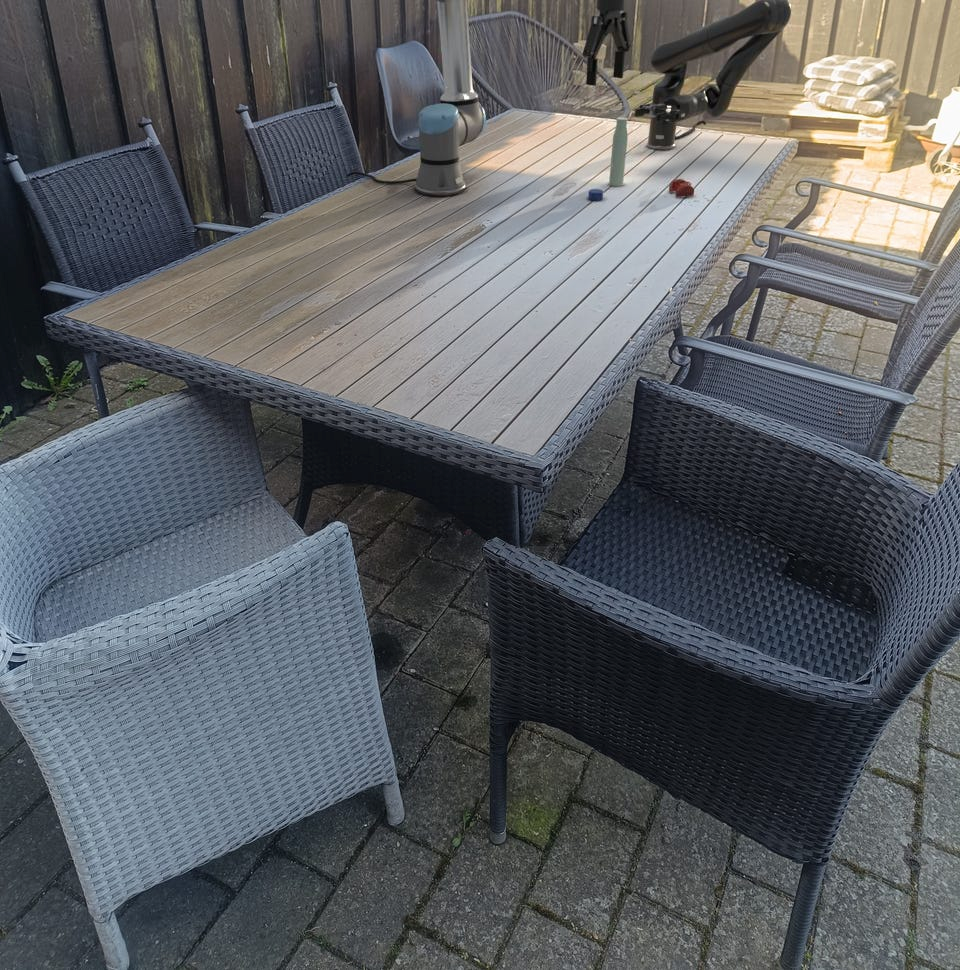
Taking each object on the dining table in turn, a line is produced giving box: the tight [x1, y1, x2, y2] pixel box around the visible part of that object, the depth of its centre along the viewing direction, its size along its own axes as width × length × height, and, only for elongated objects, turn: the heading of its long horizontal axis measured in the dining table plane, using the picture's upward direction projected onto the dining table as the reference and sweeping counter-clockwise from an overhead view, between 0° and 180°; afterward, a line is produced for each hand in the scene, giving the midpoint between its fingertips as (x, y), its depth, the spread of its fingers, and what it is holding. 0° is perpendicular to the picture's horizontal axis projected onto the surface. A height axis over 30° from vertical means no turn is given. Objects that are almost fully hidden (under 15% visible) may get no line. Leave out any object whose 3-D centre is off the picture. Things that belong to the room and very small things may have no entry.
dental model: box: [668, 178, 695, 198], centre depth 254 cm, size 6×4×8 cm
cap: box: [588, 188, 604, 202], centre depth 251 cm, size 4×4×2 cm
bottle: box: [608, 116, 629, 187], centre depth 258 cm, size 4×4×19 cm
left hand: (604, 81), depth 233 cm, fingers open, 13 cm apart
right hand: (646, 115), depth 258 cm, fingers open, 8 cm apart
